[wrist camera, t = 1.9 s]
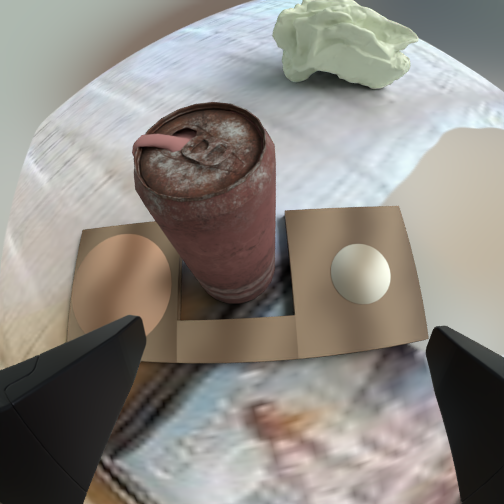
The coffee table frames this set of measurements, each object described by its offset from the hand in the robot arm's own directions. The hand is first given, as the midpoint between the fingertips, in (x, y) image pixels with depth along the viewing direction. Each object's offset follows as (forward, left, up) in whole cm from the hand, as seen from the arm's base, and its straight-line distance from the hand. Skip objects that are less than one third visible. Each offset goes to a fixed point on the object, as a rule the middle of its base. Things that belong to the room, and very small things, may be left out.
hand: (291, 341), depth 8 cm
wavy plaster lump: (+28, +25, -14) cm, 40 cm away
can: (+1, +8, -14) cm, 16 cm away
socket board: (0, +7, -14) cm, 15 cm away
